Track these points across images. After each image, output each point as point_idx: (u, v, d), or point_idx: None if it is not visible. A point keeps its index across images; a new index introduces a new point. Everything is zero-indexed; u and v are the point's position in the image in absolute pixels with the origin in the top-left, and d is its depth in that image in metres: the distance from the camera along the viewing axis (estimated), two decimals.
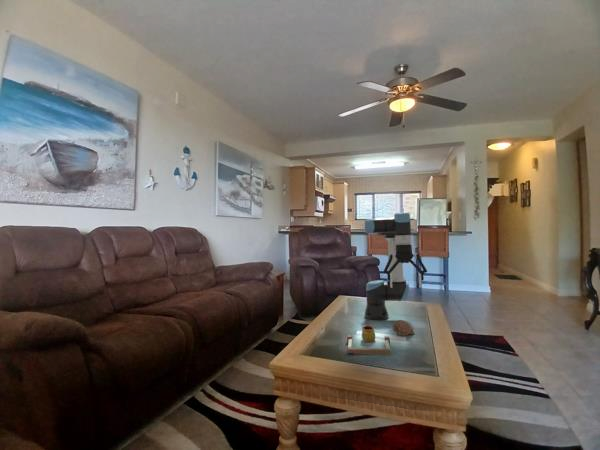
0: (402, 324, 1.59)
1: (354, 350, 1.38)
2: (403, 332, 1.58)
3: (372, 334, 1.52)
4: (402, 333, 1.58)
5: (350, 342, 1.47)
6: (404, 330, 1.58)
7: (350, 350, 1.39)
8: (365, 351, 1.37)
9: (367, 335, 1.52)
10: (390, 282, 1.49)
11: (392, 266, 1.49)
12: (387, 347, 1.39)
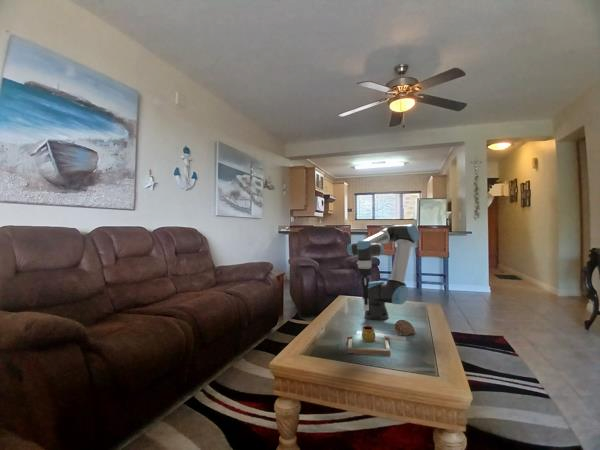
0: (403, 324, 1.59)
1: (354, 350, 1.38)
2: (405, 332, 1.58)
3: (372, 334, 1.52)
4: (403, 333, 1.58)
5: (350, 342, 1.47)
6: (405, 330, 1.58)
7: (350, 350, 1.39)
8: (365, 351, 1.37)
9: (367, 335, 1.52)
10: None
11: None
12: (387, 347, 1.39)
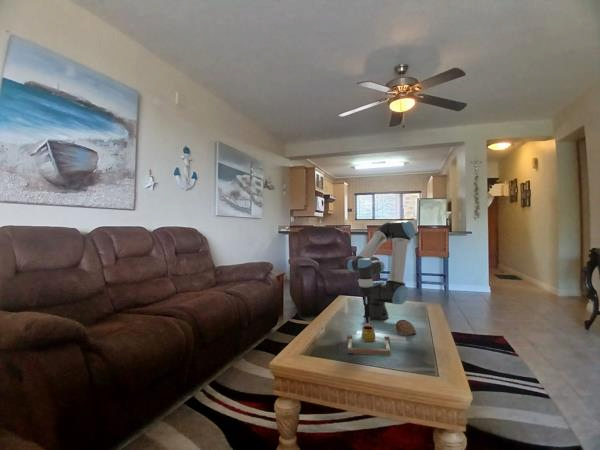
0: (404, 324, 1.60)
1: (354, 350, 1.38)
2: (406, 332, 1.58)
3: (372, 334, 1.52)
4: (404, 333, 1.58)
5: (350, 342, 1.47)
6: (406, 330, 1.58)
7: (350, 350, 1.39)
8: (365, 351, 1.37)
9: (367, 335, 1.52)
10: None
11: None
12: (387, 347, 1.39)
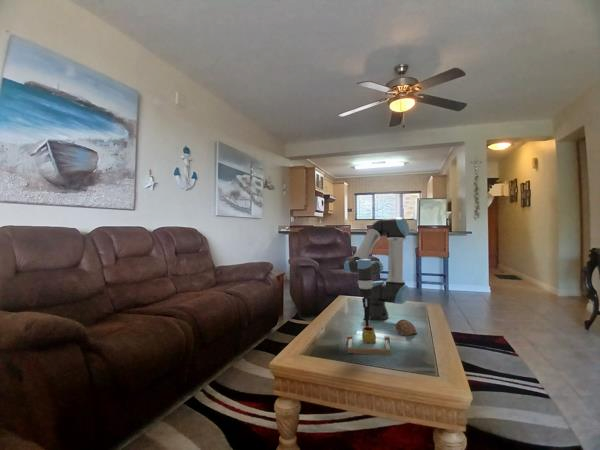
0: (405, 324, 1.60)
1: (354, 350, 1.38)
2: (406, 331, 1.58)
3: (373, 335, 1.50)
4: (405, 333, 1.58)
5: (350, 342, 1.47)
6: (407, 330, 1.58)
7: (350, 350, 1.39)
8: (365, 351, 1.37)
9: (368, 336, 1.50)
10: None
11: None
12: (387, 347, 1.39)
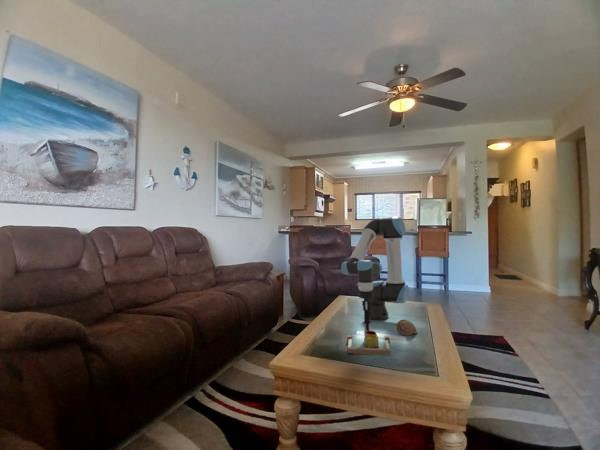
0: (405, 324, 1.60)
1: (354, 350, 1.38)
2: (407, 331, 1.58)
3: (376, 339, 1.45)
4: (406, 333, 1.59)
5: (350, 342, 1.47)
6: (407, 330, 1.58)
7: (350, 350, 1.39)
8: (365, 351, 1.37)
9: (371, 340, 1.44)
10: None
11: None
12: (387, 347, 1.39)
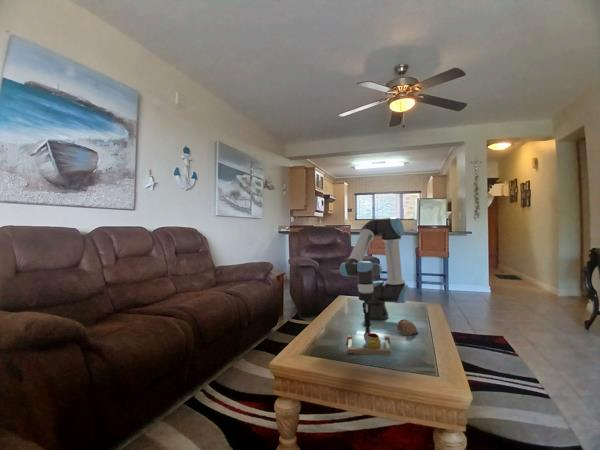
0: (406, 323, 1.60)
1: (354, 350, 1.38)
2: (408, 331, 1.58)
3: (379, 342, 1.41)
4: (406, 332, 1.59)
5: (350, 342, 1.47)
6: (408, 330, 1.58)
7: (350, 350, 1.39)
8: (365, 351, 1.37)
9: (375, 343, 1.40)
10: None
11: None
12: (387, 347, 1.39)
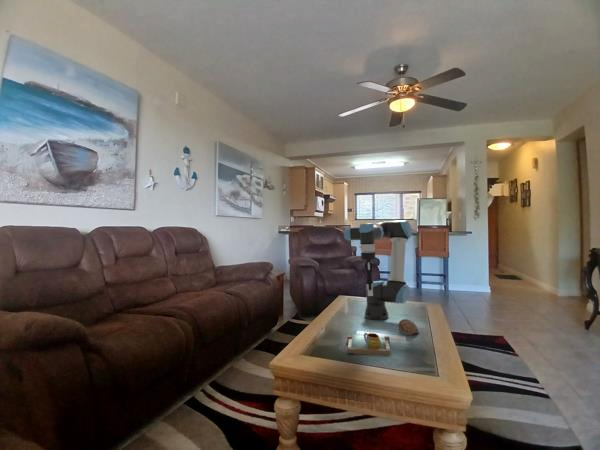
0: (407, 323, 1.60)
1: (354, 350, 1.38)
2: (409, 331, 1.59)
3: (379, 342, 1.41)
4: (407, 332, 1.59)
5: (350, 342, 1.47)
6: (409, 330, 1.59)
7: (350, 350, 1.39)
8: (365, 351, 1.37)
9: (375, 343, 1.40)
10: None
11: None
12: (387, 347, 1.39)
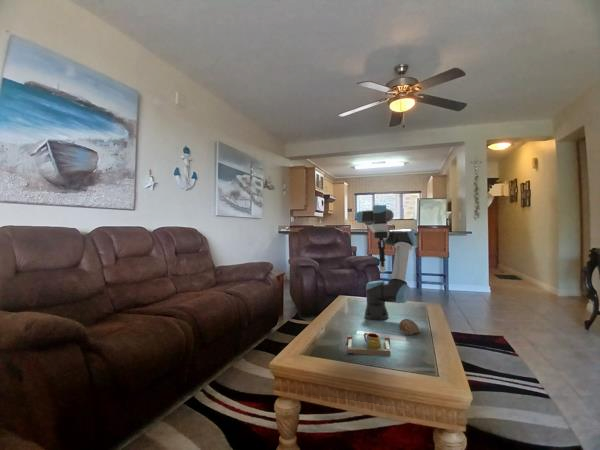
0: (408, 323, 1.60)
1: (354, 350, 1.38)
2: (410, 331, 1.59)
3: (379, 342, 1.41)
4: (408, 332, 1.59)
5: (350, 342, 1.47)
6: (410, 329, 1.59)
7: (350, 350, 1.39)
8: (365, 351, 1.37)
9: (375, 343, 1.40)
10: None
11: (380, 253, 1.76)
12: (387, 347, 1.39)
